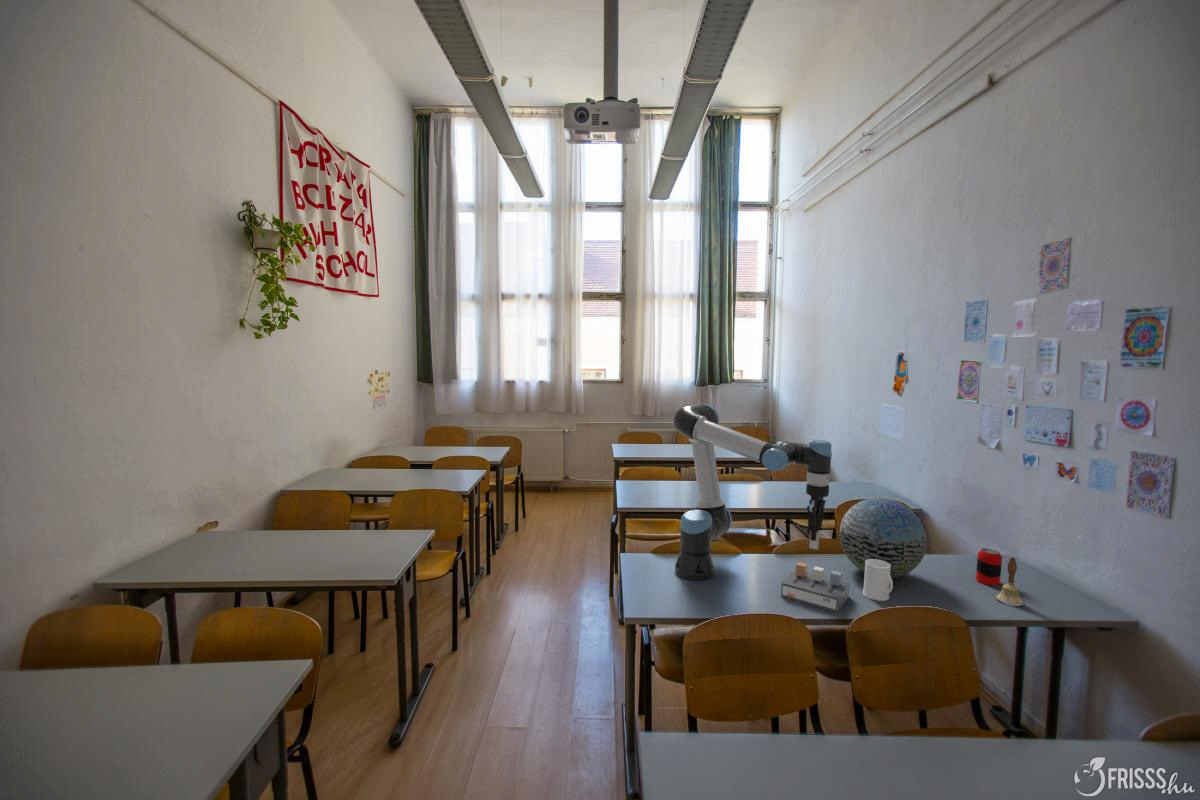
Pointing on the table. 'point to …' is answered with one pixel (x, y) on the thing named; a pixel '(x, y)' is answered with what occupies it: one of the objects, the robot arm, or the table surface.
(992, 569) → the soda can
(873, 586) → the mug
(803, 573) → the slider terracotta
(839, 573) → the block
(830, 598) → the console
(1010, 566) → the hand bell
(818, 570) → the slider ivory
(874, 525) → the decorative globe
